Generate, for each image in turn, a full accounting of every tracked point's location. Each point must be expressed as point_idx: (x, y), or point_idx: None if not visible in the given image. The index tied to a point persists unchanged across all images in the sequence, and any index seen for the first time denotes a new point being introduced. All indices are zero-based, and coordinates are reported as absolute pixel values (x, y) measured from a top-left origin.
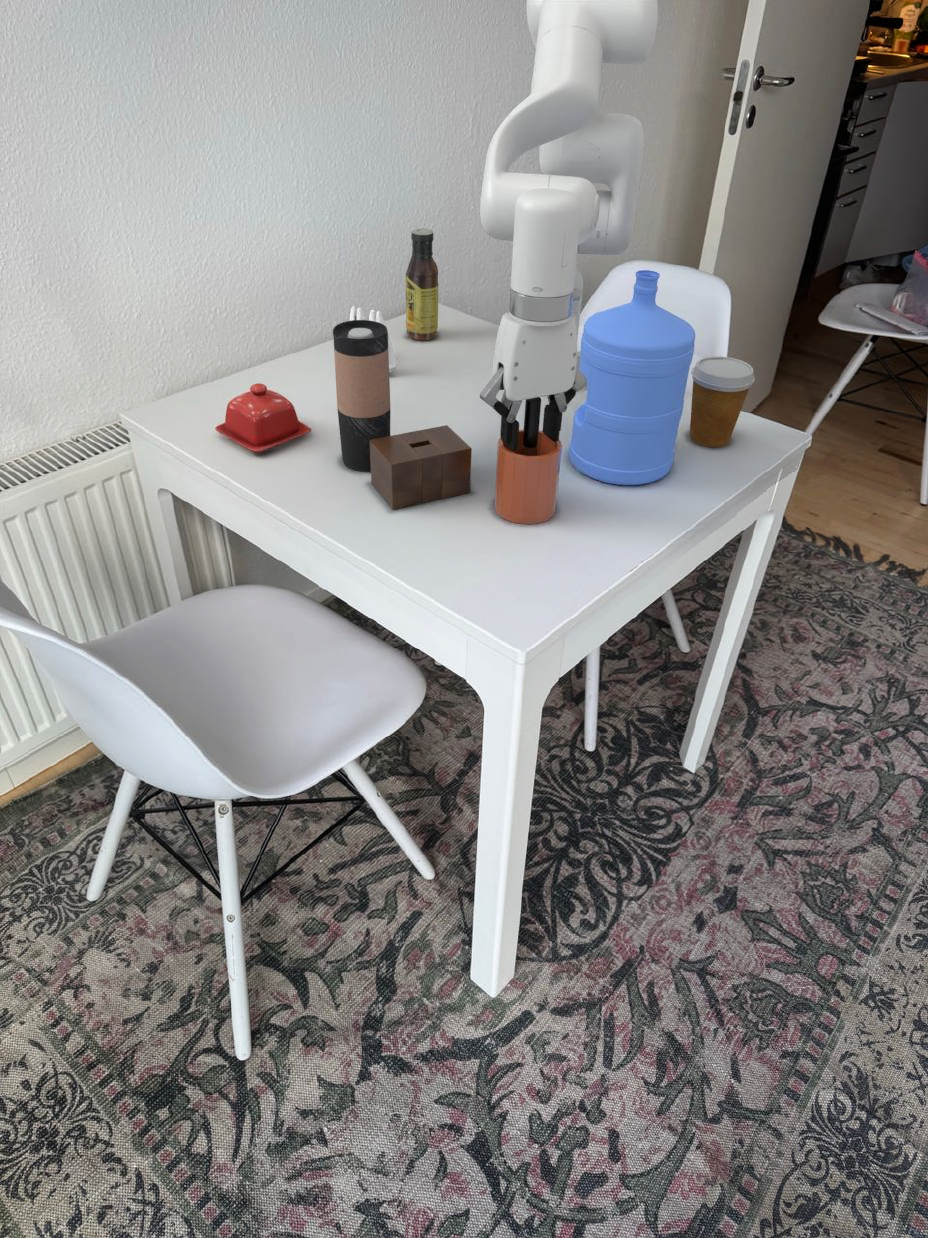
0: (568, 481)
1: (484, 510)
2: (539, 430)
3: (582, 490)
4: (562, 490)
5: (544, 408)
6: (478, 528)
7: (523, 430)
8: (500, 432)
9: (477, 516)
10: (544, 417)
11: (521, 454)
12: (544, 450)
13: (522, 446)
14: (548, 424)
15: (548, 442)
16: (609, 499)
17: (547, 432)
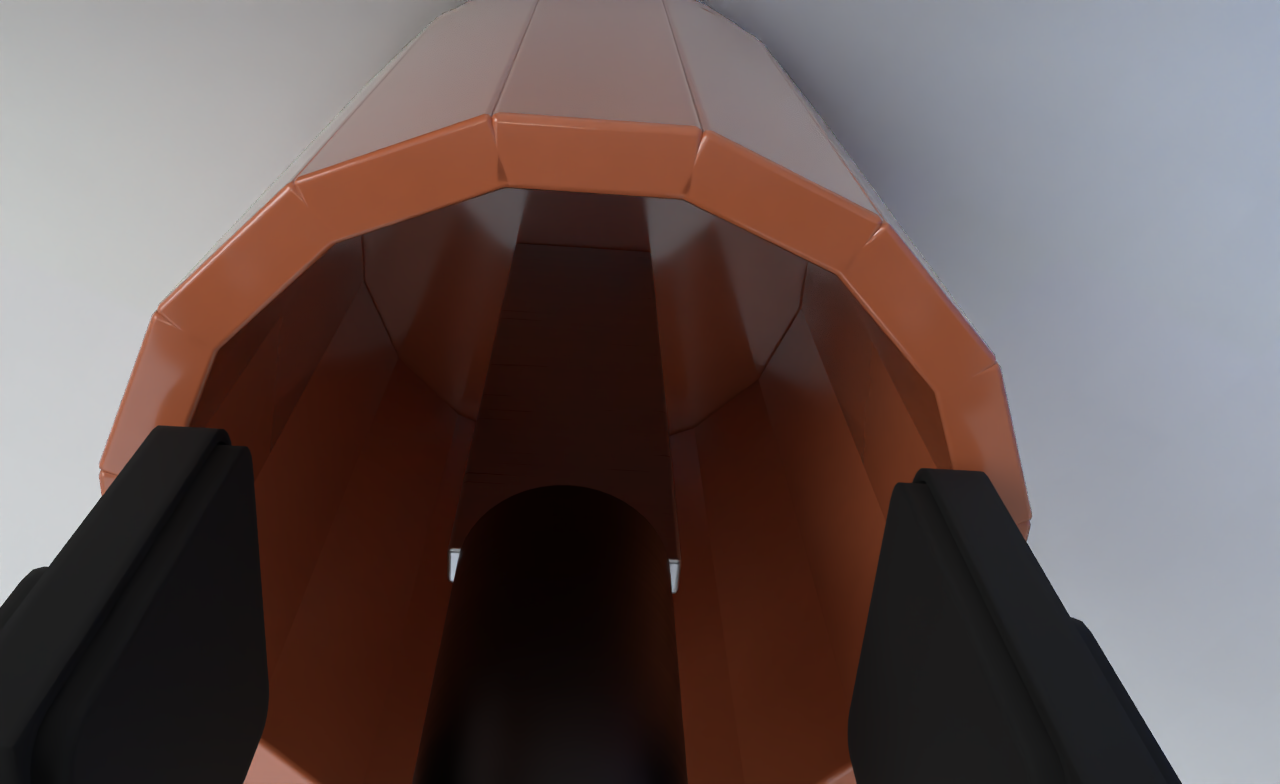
0: (1218, 22)
1: (257, 102)
2: (955, 313)
3: (1192, 213)
4: (1054, 133)
5: (1023, 756)
6: (100, 315)
7: (438, 676)
8: (4, 602)
9: (160, 159)
10: (963, 655)
11: (462, 484)
12: (892, 349)
13: (448, 557)
14: (915, 733)
15: (935, 451)
16: (1250, 418)
17: (886, 629)
